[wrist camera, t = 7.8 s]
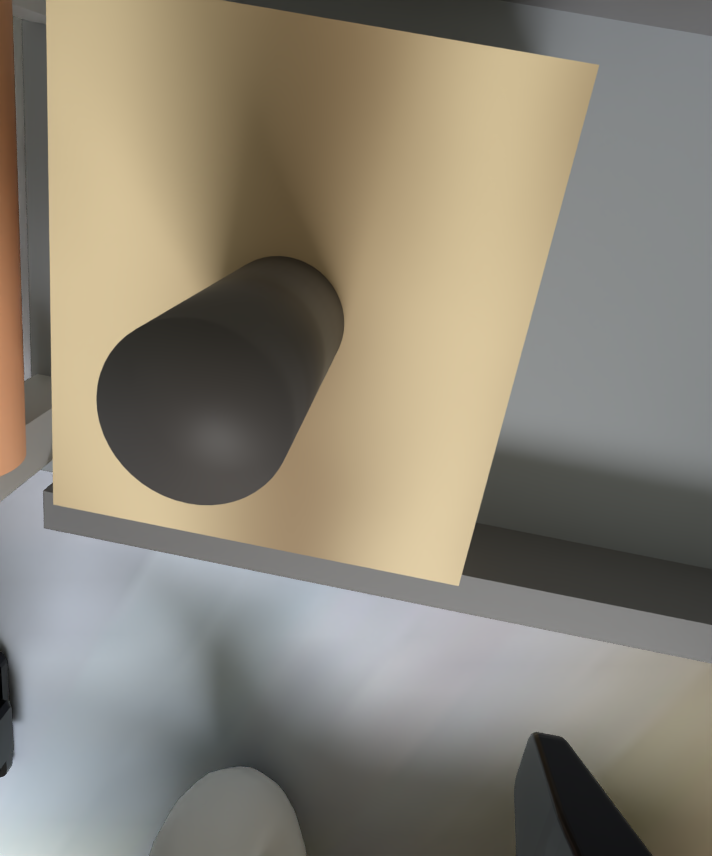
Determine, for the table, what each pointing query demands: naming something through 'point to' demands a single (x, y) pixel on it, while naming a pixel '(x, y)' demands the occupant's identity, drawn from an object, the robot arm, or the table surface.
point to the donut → (231, 818)
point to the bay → (543, 348)
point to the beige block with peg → (293, 270)
